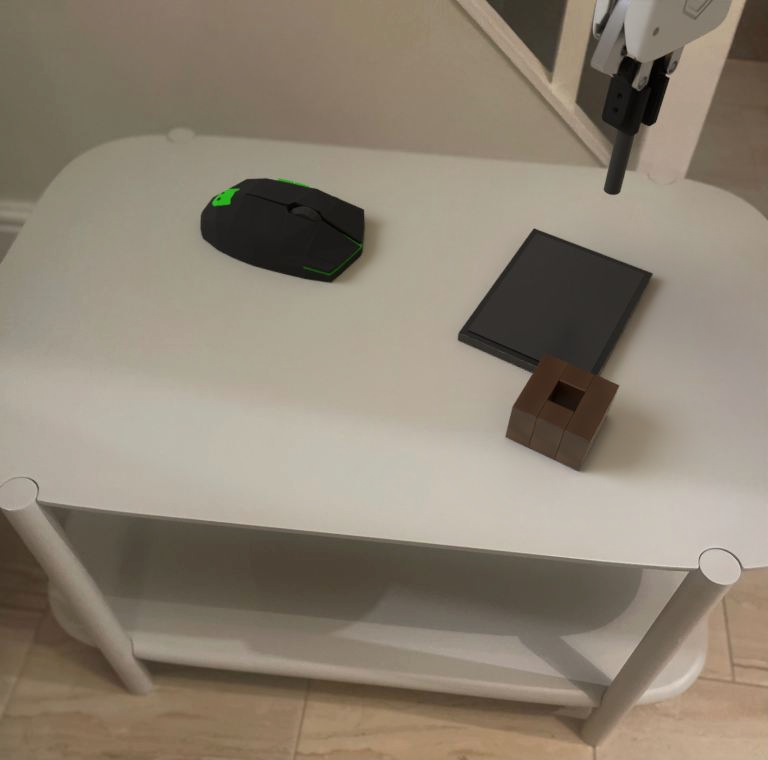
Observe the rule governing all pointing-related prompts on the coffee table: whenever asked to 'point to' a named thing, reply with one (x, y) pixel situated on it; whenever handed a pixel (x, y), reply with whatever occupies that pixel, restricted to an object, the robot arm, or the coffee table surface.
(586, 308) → the tablet
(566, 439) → the holder
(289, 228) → the computer mouse
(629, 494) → the coffee table surface
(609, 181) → the stylus
